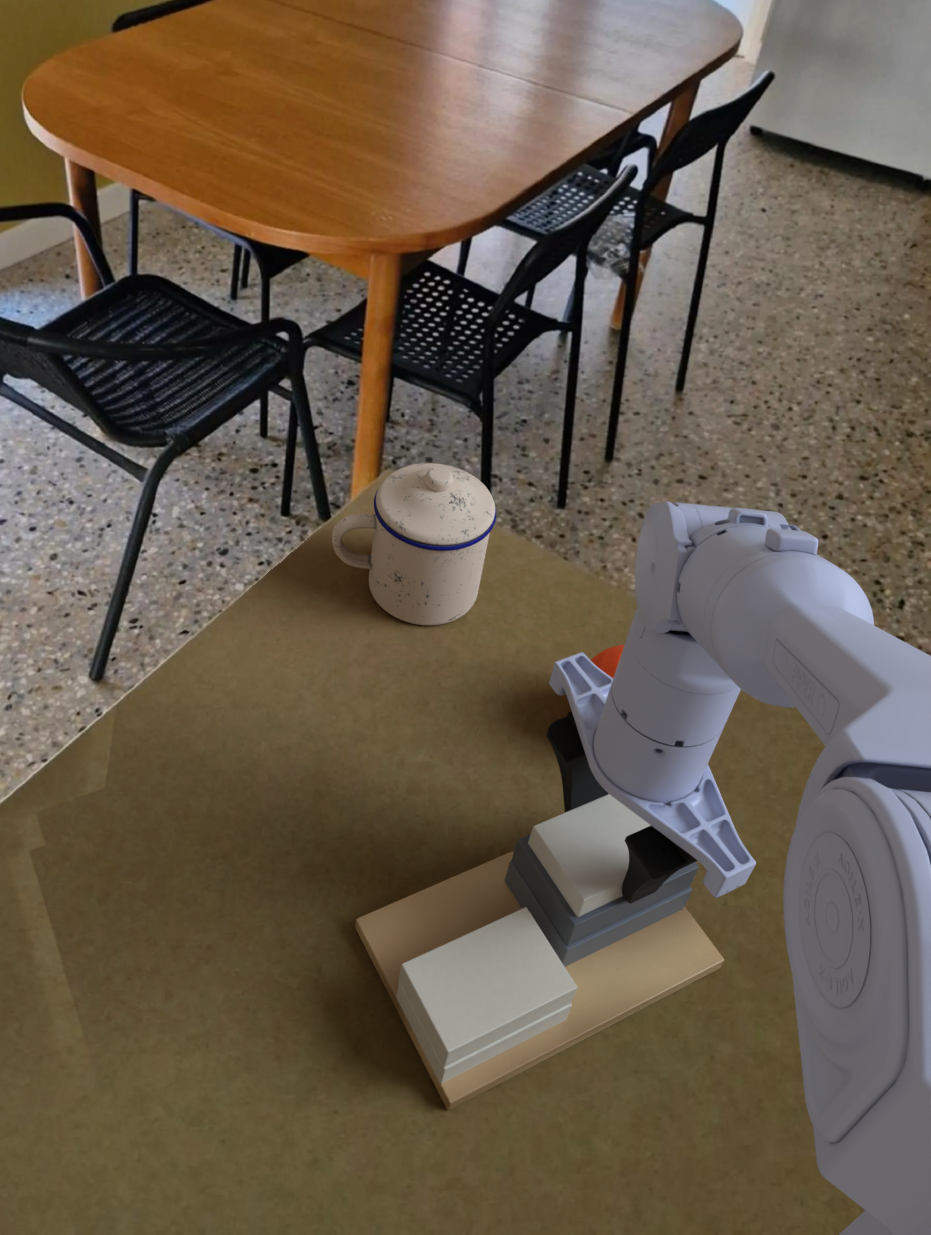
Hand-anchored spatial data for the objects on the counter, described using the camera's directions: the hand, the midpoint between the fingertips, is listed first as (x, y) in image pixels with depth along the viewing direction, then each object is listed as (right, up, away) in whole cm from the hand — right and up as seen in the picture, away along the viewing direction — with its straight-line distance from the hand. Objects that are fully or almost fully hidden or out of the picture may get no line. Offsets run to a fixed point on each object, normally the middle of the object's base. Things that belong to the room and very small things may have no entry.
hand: (610, 851), depth 64 cm
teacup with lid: (-11, +12, +24) cm, 29 cm away
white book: (0, 0, 0) cm, 0 cm away
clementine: (+4, +4, +14) cm, 15 cm away
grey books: (0, -4, +3) cm, 5 cm away
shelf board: (-4, -6, +1) cm, 7 cm away
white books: (-8, -8, -3) cm, 11 cm away
